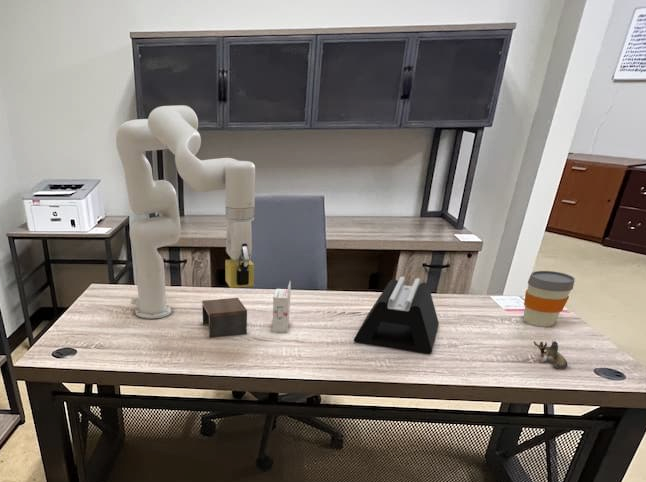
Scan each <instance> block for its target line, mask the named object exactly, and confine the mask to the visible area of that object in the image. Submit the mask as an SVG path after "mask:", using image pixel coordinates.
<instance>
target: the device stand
mask: <svg viewBox="0 0 646 482" xmlns="http://www.w3.org/2000/svg"><path fill="white" fill-rule="evenodd" d="M405 280H406V278H405V276H400V277H399V279H395V278H392V279H391V280H390V281H388V283H387V284H386V286H385V287H384V289H383V291H382V292H381V294H380V295H379V296H378V298H377V300H376V301H375V303H374V305H373V306H372V308H371V309H370V310H369V312H368V313H367V315H366V317H365V319H364V320H363V322H362V324H361V326H360V328H359V330H358V331H357V333H356V335H355V336H354V338H353V342H355V344H356V343H357V344H363V345H370V346H376V347H383V348H388V349H393V350H400V351H408V352H413V353H418V354H425V355H426V354H427V355H431V354H432V353H433V349H434V345H435V341H436V338H437V334H438V328H439V324H440V323H439V319H438V315H437V311H436V307H435V304H434V300H433V297H432V293H431V288H430V285H429V284H428V283H427V282H421V283H420V281H421V279H420V278H419V277H417V278H414V281H413V283H412V285H405V284H404V283H405Z"/></svg>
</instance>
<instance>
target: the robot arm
mask: <svg viewBox="0 0 646 482" xmlns="http://www.w3.org/2000/svg"><path fill="white" fill-rule="evenodd" d="M198 129H199V119H198V116H197V114H196V112H195V111H194V109H193V108H191V107H190V106H188V105H185V104H184V105H182V104H180V105H179V104H178V105H177V104H176V105H161V106H157V107H155V108H154V109H152V110H151V112H150V113H149V115H148V118H140V119H139V118H138V119H131V120H127V121H125V122H123V123H122V124H121V125H120V126H119V127H118V129H117V132H116V137H115V143H116V149H117V152H118V156H119V158H120V161H121V164H122V168H123V171H124V177H125V185H126V192H127V196H128V203H129V207H130V209H131V211H132V213H133V214H135V215H139V216H142V215H143V216H144V215H149V214H157V213H158V216H155V217H148V218H143V219H140V220H136V221H135V222H134V223H132V225H131V226H130V228H129V239H130V240H129V241H130V243H131V247H132V251H133V256H134V257H133V258H134V264H135V275H136V284H137V285H136V286H137V296H138V297H136V296H133V297H132V298H131V301H130V304H131V305H132V306H133V305H135V306H136V308H135V309H134V313H135V315H136V316H137V317H139V318H141V319H148V320H149V319H151V320H152V319H153V320H154V319H160V318H164V317H168V316H169V315H170V314H171V313H172V307H171V306H170V305H169V304H167V290H166V275H165V273H166V272H165V263H164V258H163V257H162V255H161V254H160V253H159V251H158V249H159V248H163V247H169V246H172V245H175V244H177V243H178V242H179V241H180V239H181V237H182V227H181V218H180V208H179V200H178V195H177V191H176V189H175V187H174V185H173V184H172V183H171V182H170V181H168V180H166V179H158V180H154V177H153V176H154V175H153V169H152V165H151V163H150V161H149V160H148V158H147V157H146V156H145V154H144V153H143V152H152V151H162V150H169V151H170V152H171V153H172V154H173V155H174V163H175V167H176V170H177V173H178V175H179V176H180V178H181V179H182V180H183V181H184V182H185V183H186V184H187V185H188V186H189V187H191V188H192V189H194V190H195V191H197V192H200V193H209V192H214V191H223V190H225V193H224V194H225V196H224V197H225V198H224V199H225V201H224V203H225V211H224V212H225V221H226V222H227V223H226V237H225V238H226V239H225V240H226V243H225V253H226V254H227V255H228V256H229V257H230V259H233V260H234V261H236V259H237V263H238V270H237V285H248V284H249V260H250V259H251V258H252V253H253V252H252V251H253V249H252V246H253V241H252V240H253V237H252V235H253V234H252V221H254V220H255V200H256V199H255V198H256V192H255V191H256V165H255V164H254V162H252V161H248V160H239V159H236V158H233V157H221V158H210V159H203V160H202V159H200V158H198V157H197V156H196V155H197V154H198V153H199V150H200V148H201V144H202V137H201V133H200V132H199V131H198ZM240 261H243V262H242V263H240Z"/></svg>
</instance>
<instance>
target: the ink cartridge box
mask: <svg viewBox="0 0 646 482" xmlns="http://www.w3.org/2000/svg"><path fill="white" fill-rule="evenodd" d="M291 281H292V280H289V282H288V286H287V288H275V291H274V293H273V297H272V327H271V329H272V330H271V331H272V333H288V329H289V323H290V322H289V321H290V311H291V310H290V309H291V308H290V307H291V295H292V293H291V291H292V286H291V285H292V282H291Z"/></svg>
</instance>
